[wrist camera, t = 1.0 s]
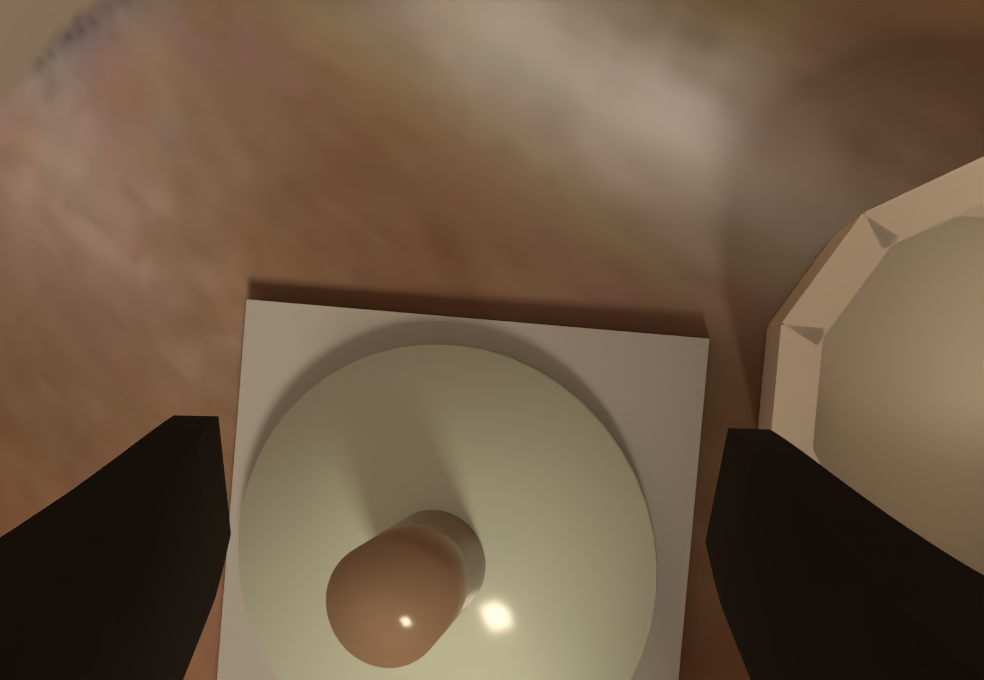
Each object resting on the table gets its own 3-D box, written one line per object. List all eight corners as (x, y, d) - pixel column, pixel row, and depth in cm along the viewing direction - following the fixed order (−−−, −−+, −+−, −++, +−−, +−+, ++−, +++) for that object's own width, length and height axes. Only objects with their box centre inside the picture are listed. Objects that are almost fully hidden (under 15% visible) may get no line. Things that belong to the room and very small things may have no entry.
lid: (637, 808, 24) (621, 923, 19) (236, 723, 27) (138, 804, 22) (676, 364, 24) (670, 371, 19) (267, 327, 27) (174, 325, 22)
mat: (664, 832, 24) (663, 844, 24) (222, 734, 28) (211, 743, 27) (709, 338, 24) (709, 338, 23) (256, 300, 27) (246, 299, 27)
